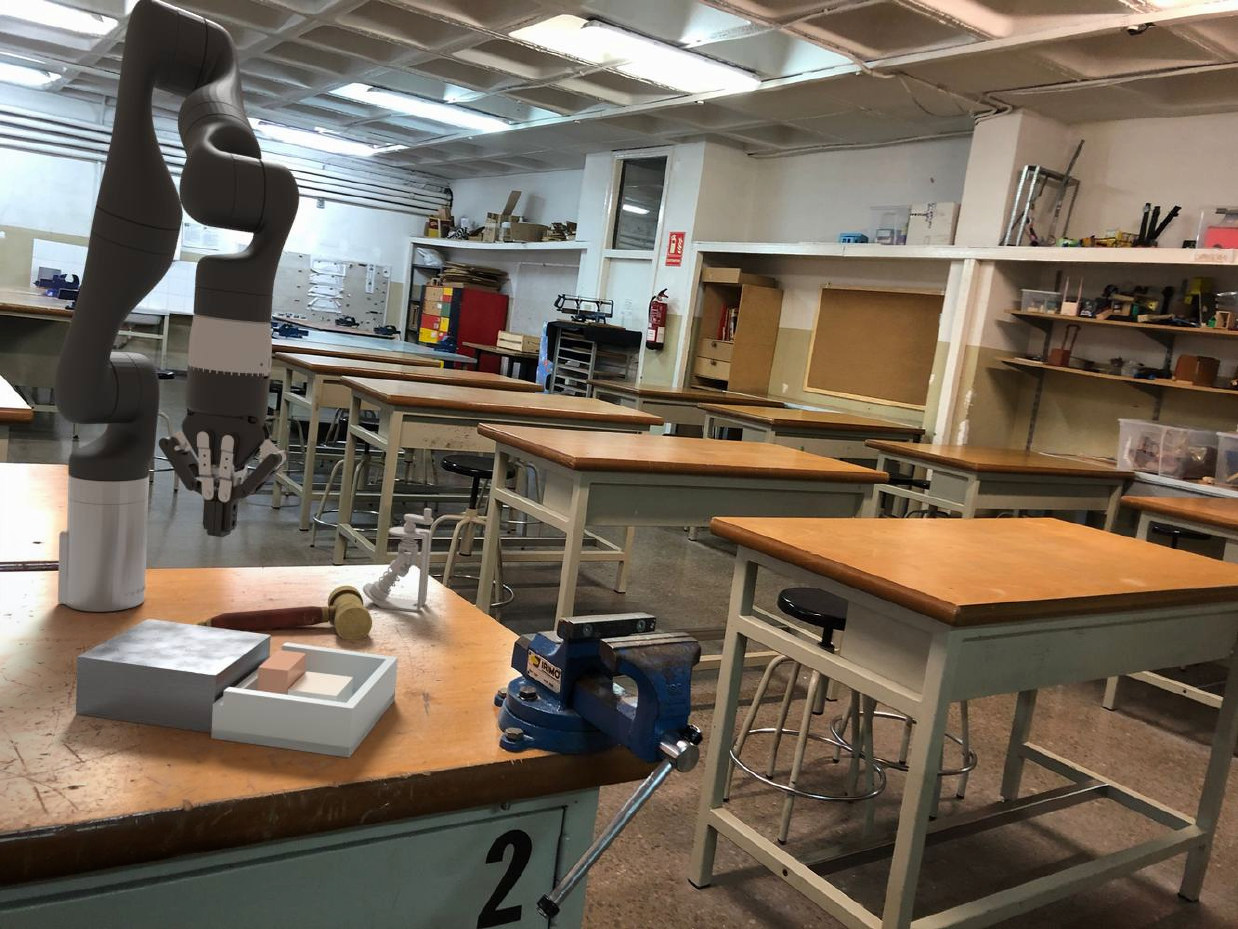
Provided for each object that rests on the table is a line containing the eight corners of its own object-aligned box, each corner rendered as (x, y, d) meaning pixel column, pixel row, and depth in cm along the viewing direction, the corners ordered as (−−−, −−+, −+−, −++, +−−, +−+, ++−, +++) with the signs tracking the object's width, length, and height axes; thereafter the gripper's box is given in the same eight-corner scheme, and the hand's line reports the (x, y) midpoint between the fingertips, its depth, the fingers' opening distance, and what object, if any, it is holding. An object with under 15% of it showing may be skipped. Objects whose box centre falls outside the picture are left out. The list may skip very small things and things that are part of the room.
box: (211, 738, 89) (213, 689, 88) (274, 683, 103) (277, 641, 102) (349, 757, 88) (352, 708, 87) (394, 700, 102) (397, 657, 101)
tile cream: (336, 695, 92) (334, 724, 92) (353, 677, 97) (351, 704, 97) (287, 689, 92) (285, 717, 93) (306, 671, 97) (305, 698, 97)
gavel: (194, 621, 111) (196, 596, 120) (195, 657, 111) (197, 629, 120) (372, 606, 119) (361, 583, 128) (372, 640, 120) (361, 615, 129)
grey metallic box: (75, 714, 90) (77, 656, 90) (146, 670, 102) (148, 618, 101) (212, 733, 90) (215, 675, 89) (267, 686, 102) (270, 635, 101)
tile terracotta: (258, 667, 92) (288, 670, 92) (278, 649, 97) (306, 653, 97) (255, 714, 93) (285, 717, 93) (275, 694, 98) (303, 698, 98)
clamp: (367, 596, 136) (374, 498, 134) (430, 604, 136) (439, 505, 134) (358, 605, 132) (365, 503, 130) (424, 612, 132) (432, 511, 130)
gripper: (142, 357, 87) (134, 534, 90) (277, 375, 86) (265, 553, 89) (185, 354, 94) (177, 518, 97) (310, 371, 94) (298, 536, 96)
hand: (219, 534), depth 93 cm, fingers closed
